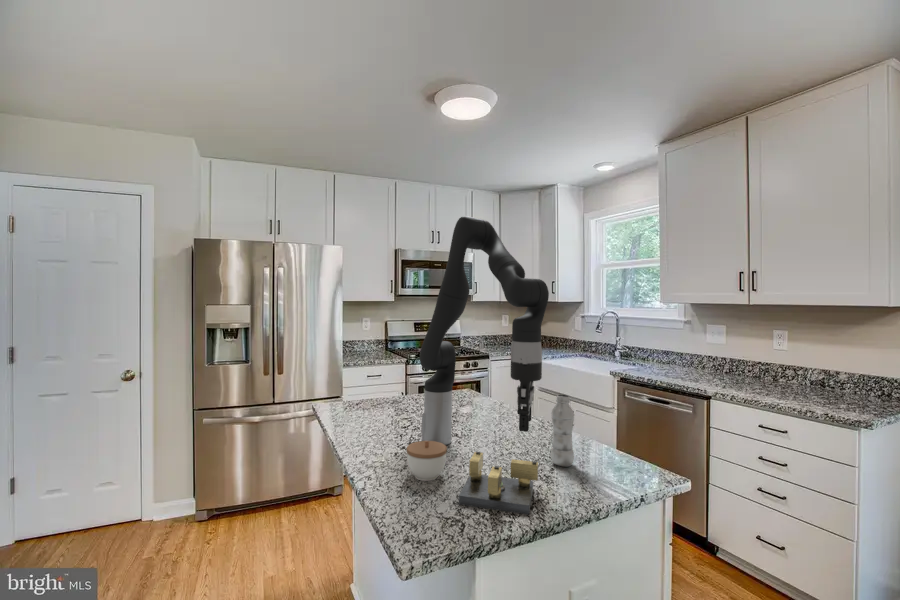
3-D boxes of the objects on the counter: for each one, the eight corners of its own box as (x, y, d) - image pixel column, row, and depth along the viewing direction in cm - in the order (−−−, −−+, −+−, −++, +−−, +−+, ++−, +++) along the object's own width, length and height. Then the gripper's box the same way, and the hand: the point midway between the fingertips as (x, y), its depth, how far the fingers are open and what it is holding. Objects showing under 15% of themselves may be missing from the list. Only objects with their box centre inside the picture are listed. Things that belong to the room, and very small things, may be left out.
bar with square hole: (498, 502, 93) (499, 477, 93) (486, 501, 94) (486, 475, 94) (502, 490, 99) (503, 466, 99) (491, 488, 100) (491, 464, 100)
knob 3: (510, 485, 102) (510, 461, 102) (511, 480, 105) (512, 457, 105) (537, 488, 101) (537, 464, 101) (537, 483, 103) (538, 460, 103)
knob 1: (479, 484, 103) (479, 460, 103) (467, 482, 103) (468, 459, 103) (483, 473, 109) (484, 451, 109) (473, 472, 109) (473, 450, 109)
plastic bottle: (561, 471, 117) (562, 399, 117) (545, 462, 123) (546, 394, 123) (578, 467, 120) (580, 397, 120) (562, 459, 126) (563, 392, 126)
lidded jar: (399, 480, 109) (399, 444, 109) (416, 465, 119) (417, 432, 119) (437, 487, 105) (438, 450, 105) (452, 471, 115) (452, 437, 115)
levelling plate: (458, 504, 97) (459, 489, 97) (470, 481, 109) (470, 468, 109) (529, 514, 93) (529, 499, 93) (533, 489, 105) (533, 476, 105)
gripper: (514, 355, 111) (513, 416, 111) (507, 362, 97) (506, 433, 97) (543, 356, 109) (542, 419, 109) (540, 364, 95) (539, 436, 95)
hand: (525, 425), depth 103 cm, fingers open, 8 cm apart
